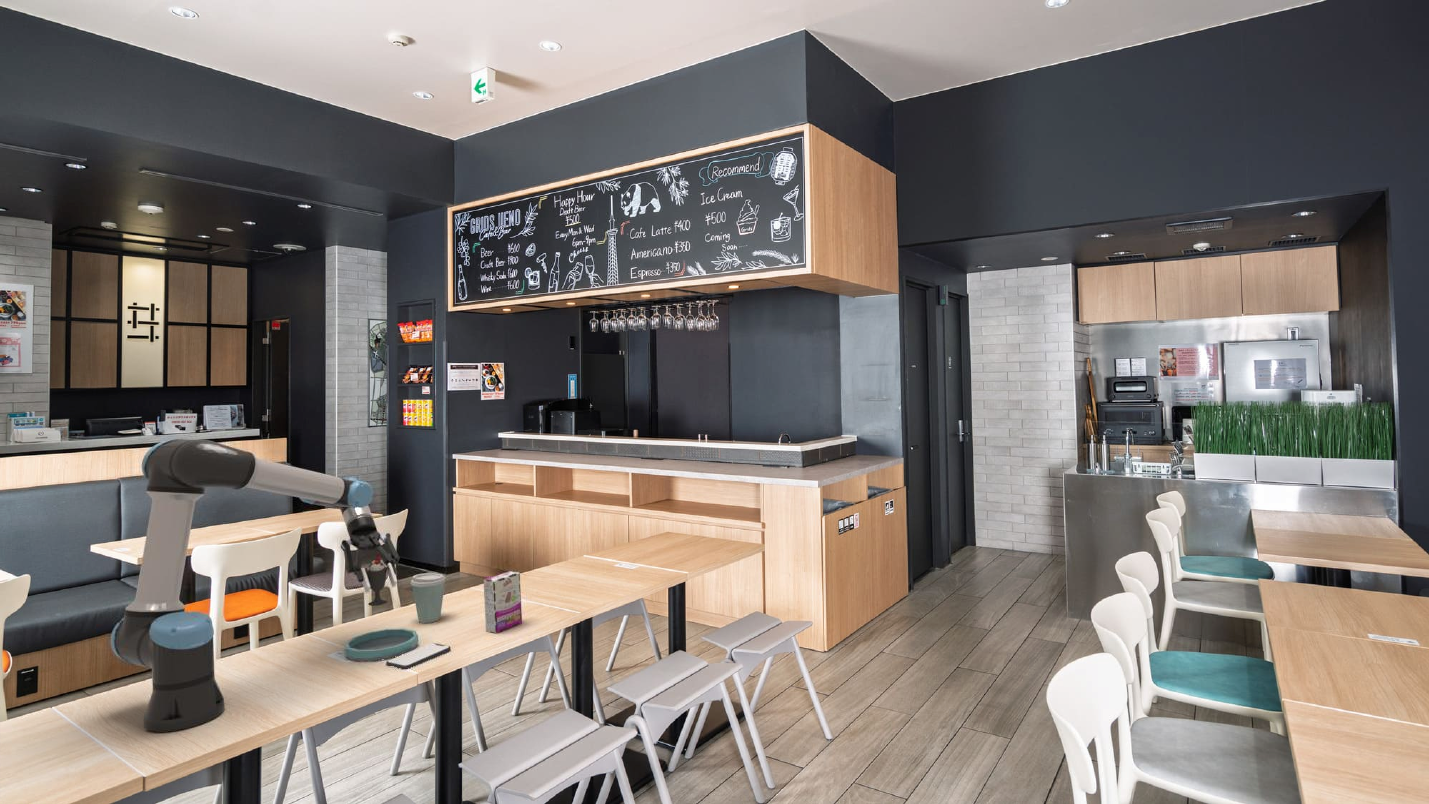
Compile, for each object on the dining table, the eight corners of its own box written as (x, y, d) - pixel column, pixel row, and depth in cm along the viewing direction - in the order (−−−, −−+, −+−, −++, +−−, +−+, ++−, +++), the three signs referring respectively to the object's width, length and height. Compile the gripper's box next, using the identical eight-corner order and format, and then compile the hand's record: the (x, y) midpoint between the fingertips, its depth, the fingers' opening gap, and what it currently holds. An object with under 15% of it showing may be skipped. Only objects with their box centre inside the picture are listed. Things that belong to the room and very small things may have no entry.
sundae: (380, 607, 206) (378, 554, 206) (359, 606, 207) (358, 553, 207) (395, 600, 212) (393, 549, 212) (375, 599, 214) (373, 548, 213)
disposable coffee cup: (438, 613, 246) (437, 569, 246) (452, 620, 238) (451, 574, 238) (406, 621, 239) (405, 575, 238) (420, 628, 231) (419, 580, 231)
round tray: (373, 666, 199) (373, 655, 199) (330, 655, 208) (330, 645, 208) (431, 644, 215) (431, 634, 215) (389, 635, 225) (389, 625, 225)
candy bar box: (511, 621, 235) (509, 570, 235) (522, 623, 233) (520, 572, 233) (484, 631, 226) (482, 578, 225) (496, 634, 223) (494, 580, 223)
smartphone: (406, 672, 195) (452, 651, 210) (405, 666, 195) (452, 646, 209) (383, 667, 200) (431, 647, 214) (383, 661, 200) (431, 642, 214)
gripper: (390, 525, 227) (413, 587, 216) (322, 536, 214) (342, 602, 202) (396, 510, 223) (419, 572, 212) (326, 520, 210) (347, 586, 198)
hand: (381, 586), depth 207 cm, fingers closed on sundae, 7 cm apart
